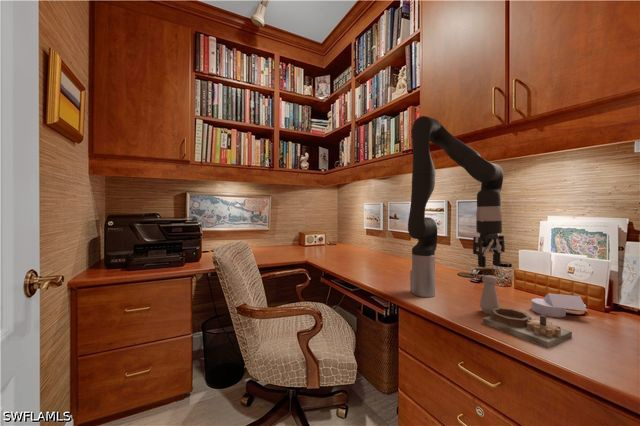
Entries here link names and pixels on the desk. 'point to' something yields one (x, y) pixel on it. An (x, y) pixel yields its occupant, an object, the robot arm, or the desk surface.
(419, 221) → the robot arm
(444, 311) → the desk surface
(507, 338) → the desk surface
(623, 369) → the desk surface
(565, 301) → the wedge on round base
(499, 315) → the peg board
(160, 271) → the desk surface
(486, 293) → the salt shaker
